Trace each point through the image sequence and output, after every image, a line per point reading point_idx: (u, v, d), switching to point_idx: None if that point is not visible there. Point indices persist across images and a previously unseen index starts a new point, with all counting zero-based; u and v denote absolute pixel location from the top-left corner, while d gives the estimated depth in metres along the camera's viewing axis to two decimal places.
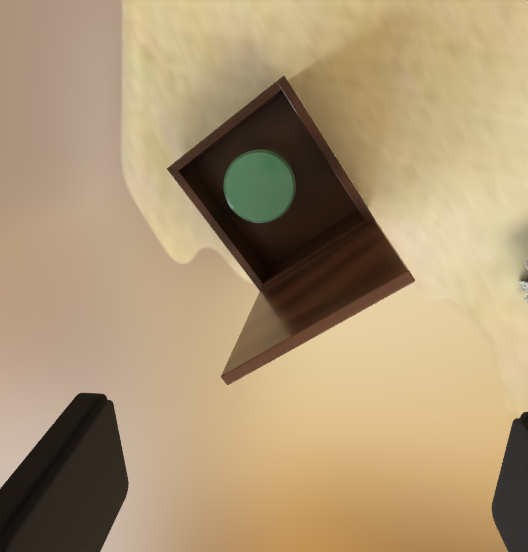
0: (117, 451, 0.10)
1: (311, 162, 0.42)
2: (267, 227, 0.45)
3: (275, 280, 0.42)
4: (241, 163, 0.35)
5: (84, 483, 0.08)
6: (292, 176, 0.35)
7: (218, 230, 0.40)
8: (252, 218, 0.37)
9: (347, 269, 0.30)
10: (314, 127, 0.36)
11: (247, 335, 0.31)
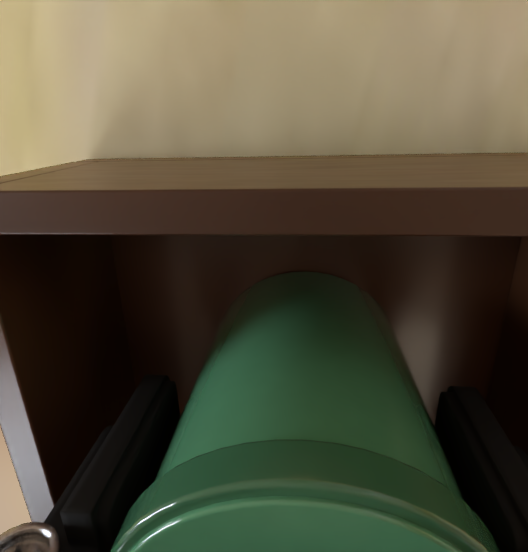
0: None
1: None
2: None
3: None
4: (297, 528, 0.05)
5: (158, 456, 0.09)
6: None
7: (40, 504, 0.10)
8: None
9: None
10: None
11: None
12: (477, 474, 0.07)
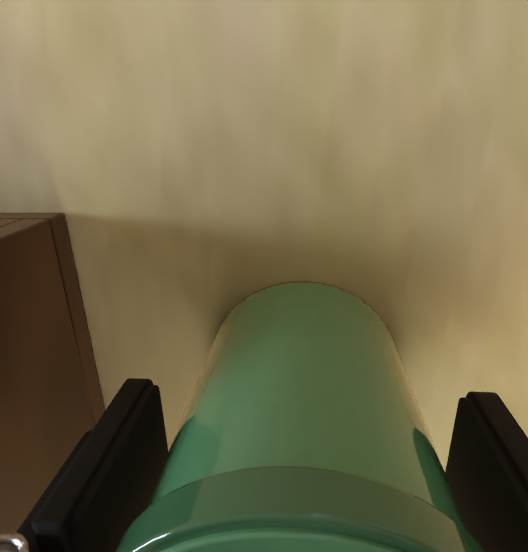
0: (162, 434, 0.10)
1: None
2: None
3: None
4: None
5: (137, 462, 0.09)
6: None
7: None
8: None
9: None
10: None
11: None
12: (503, 484, 0.07)
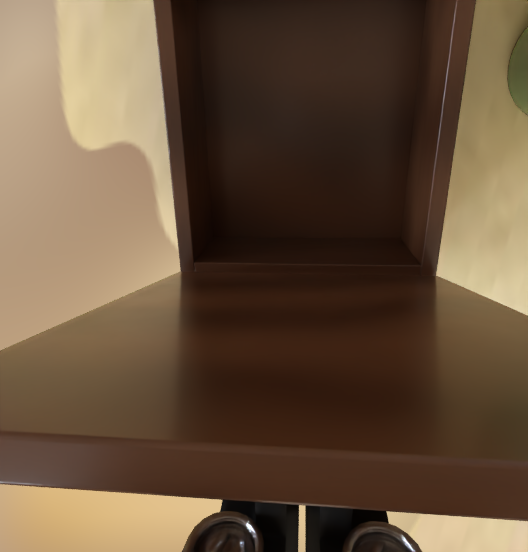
0: None
1: (386, 121, 0.23)
2: (251, 176, 0.25)
3: (217, 269, 0.22)
4: None
5: None
6: None
7: (173, 121, 0.19)
8: None
9: (421, 323, 0.11)
10: (465, 50, 0.17)
11: (87, 328, 0.11)
12: None
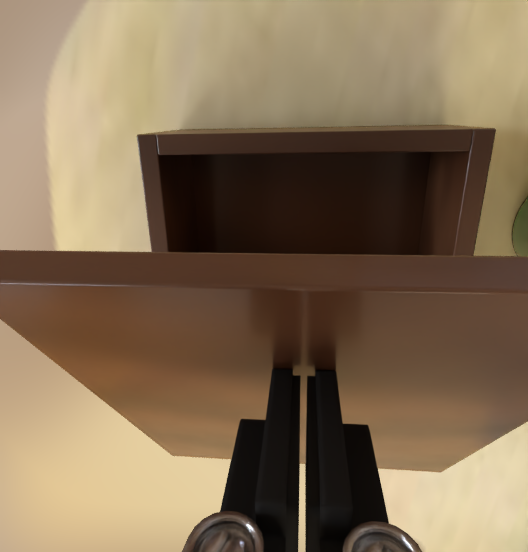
0: None
1: None
2: None
3: None
4: None
5: None
6: None
7: None
8: None
9: None
10: None
11: None
12: (307, 447, 0.08)
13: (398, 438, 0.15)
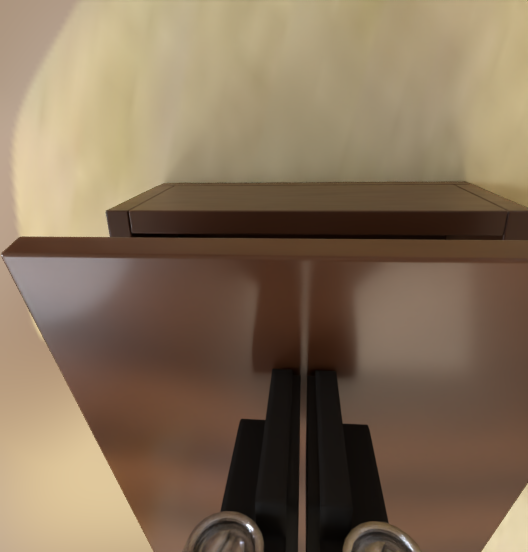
0: None
1: None
2: None
3: None
4: None
5: None
6: None
7: None
8: None
9: None
10: None
11: None
12: (307, 447, 0.08)
13: (407, 505, 0.14)
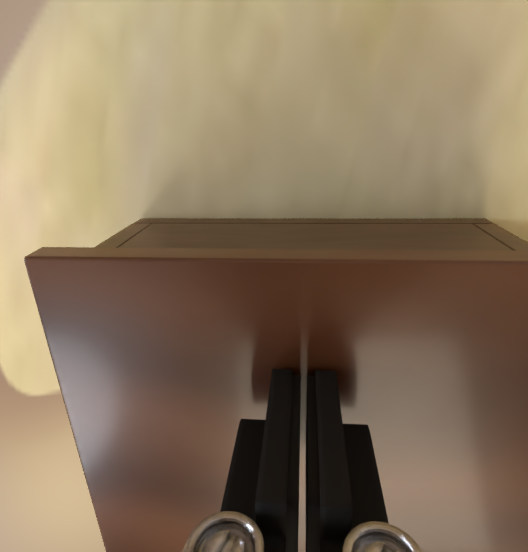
0: None
1: None
2: None
3: None
4: None
5: None
6: None
7: None
8: None
9: None
10: None
11: None
12: (307, 447, 0.08)
13: None
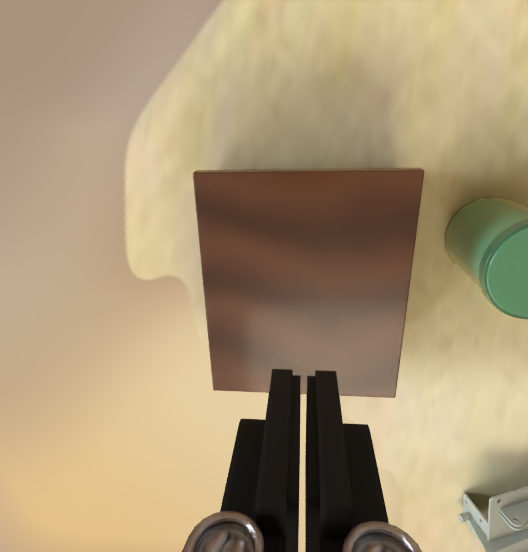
0: None
1: None
2: None
3: None
4: None
5: None
6: None
7: None
8: (497, 300, 0.25)
9: None
10: None
11: None
12: (307, 447, 0.08)
13: (355, 322, 0.28)
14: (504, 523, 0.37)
